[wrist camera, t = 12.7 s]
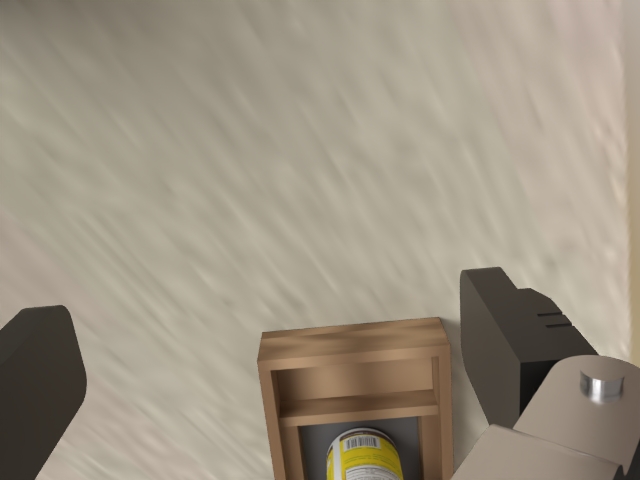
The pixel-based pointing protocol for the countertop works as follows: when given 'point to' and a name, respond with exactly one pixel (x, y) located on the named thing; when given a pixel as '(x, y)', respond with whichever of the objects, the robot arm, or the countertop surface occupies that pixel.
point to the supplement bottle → (363, 456)
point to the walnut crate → (358, 394)
